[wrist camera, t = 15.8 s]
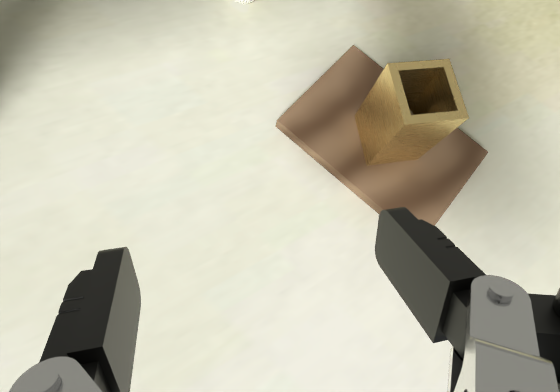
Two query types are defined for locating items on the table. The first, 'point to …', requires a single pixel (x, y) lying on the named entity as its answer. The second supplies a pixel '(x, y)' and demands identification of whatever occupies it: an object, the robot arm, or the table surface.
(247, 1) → the muffin
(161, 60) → the table surface
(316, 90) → the post board
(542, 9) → the table surface
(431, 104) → the wooden sleeve
